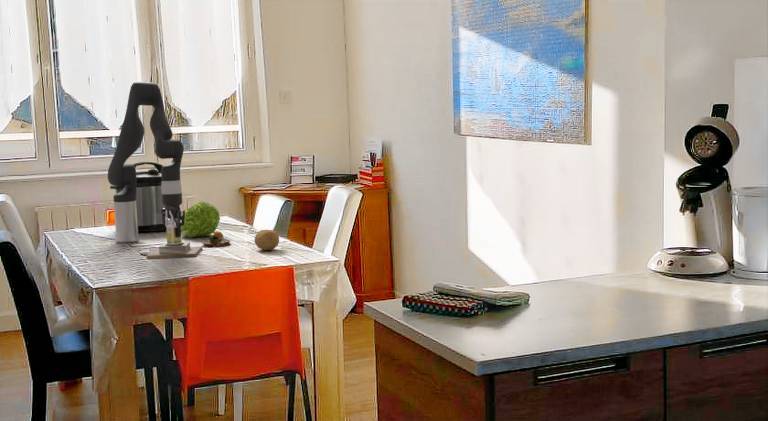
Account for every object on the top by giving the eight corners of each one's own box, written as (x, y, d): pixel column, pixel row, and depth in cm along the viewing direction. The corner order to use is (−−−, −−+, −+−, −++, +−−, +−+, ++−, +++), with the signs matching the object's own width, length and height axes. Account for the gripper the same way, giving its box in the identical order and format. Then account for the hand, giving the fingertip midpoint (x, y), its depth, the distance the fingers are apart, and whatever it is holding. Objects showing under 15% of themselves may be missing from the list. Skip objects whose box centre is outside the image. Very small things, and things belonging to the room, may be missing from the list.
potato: (274, 246, 357) (273, 226, 356) (284, 251, 344) (283, 230, 343) (250, 248, 354) (249, 228, 353) (258, 253, 341) (258, 232, 340)
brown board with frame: (155, 251, 354) (155, 241, 354) (202, 249, 355) (201, 240, 355) (146, 258, 337) (146, 248, 336) (195, 256, 338) (194, 247, 337)
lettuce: (174, 243, 401) (209, 243, 408) (187, 232, 379) (224, 232, 386) (173, 210, 404) (208, 211, 411) (186, 197, 382) (223, 198, 389)
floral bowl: (216, 242, 375) (215, 225, 374) (236, 244, 368) (235, 226, 367) (194, 246, 365) (193, 228, 364) (215, 248, 358) (214, 230, 357)
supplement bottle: (165, 245, 343) (164, 220, 342) (169, 243, 348) (167, 218, 347) (179, 244, 343) (178, 219, 342) (183, 242, 348) (181, 218, 347)
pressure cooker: (182, 224, 438) (179, 159, 435) (179, 232, 410) (175, 162, 407) (118, 227, 433) (114, 161, 430) (110, 235, 406) (106, 165, 402)
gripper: (190, 192, 341) (192, 236, 343) (170, 190, 351) (173, 233, 353) (172, 194, 336) (175, 239, 338) (153, 192, 346) (155, 236, 348)
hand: (174, 236), depth 345 cm, fingers closed on supplement bottle, 5 cm apart
